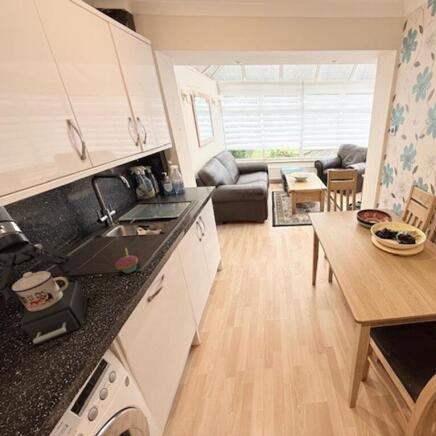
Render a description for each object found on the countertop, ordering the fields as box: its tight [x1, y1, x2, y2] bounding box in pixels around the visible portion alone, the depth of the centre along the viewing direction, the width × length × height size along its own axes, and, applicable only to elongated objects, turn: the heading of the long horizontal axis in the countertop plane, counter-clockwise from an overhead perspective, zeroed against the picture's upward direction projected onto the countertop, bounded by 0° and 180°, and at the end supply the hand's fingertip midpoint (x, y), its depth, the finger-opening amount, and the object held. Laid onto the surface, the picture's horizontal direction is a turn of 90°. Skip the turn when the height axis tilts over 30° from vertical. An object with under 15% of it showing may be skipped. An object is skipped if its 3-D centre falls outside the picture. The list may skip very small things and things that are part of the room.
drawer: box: [22, 309, 80, 346], centre depth 78 cm, size 17×10×8 cm, turn 33°
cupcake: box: [114, 247, 139, 274], centre depth 105 cm, size 9×8×12 cm
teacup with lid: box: [11, 270, 70, 311], centre depth 76 cm, size 12×9×12 cm
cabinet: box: [19, 281, 88, 341], centre depth 81 cm, size 15×12×10 cm
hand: (47, 292), depth 75 cm, fingers closed on teacup with lid, 11 cm apart
